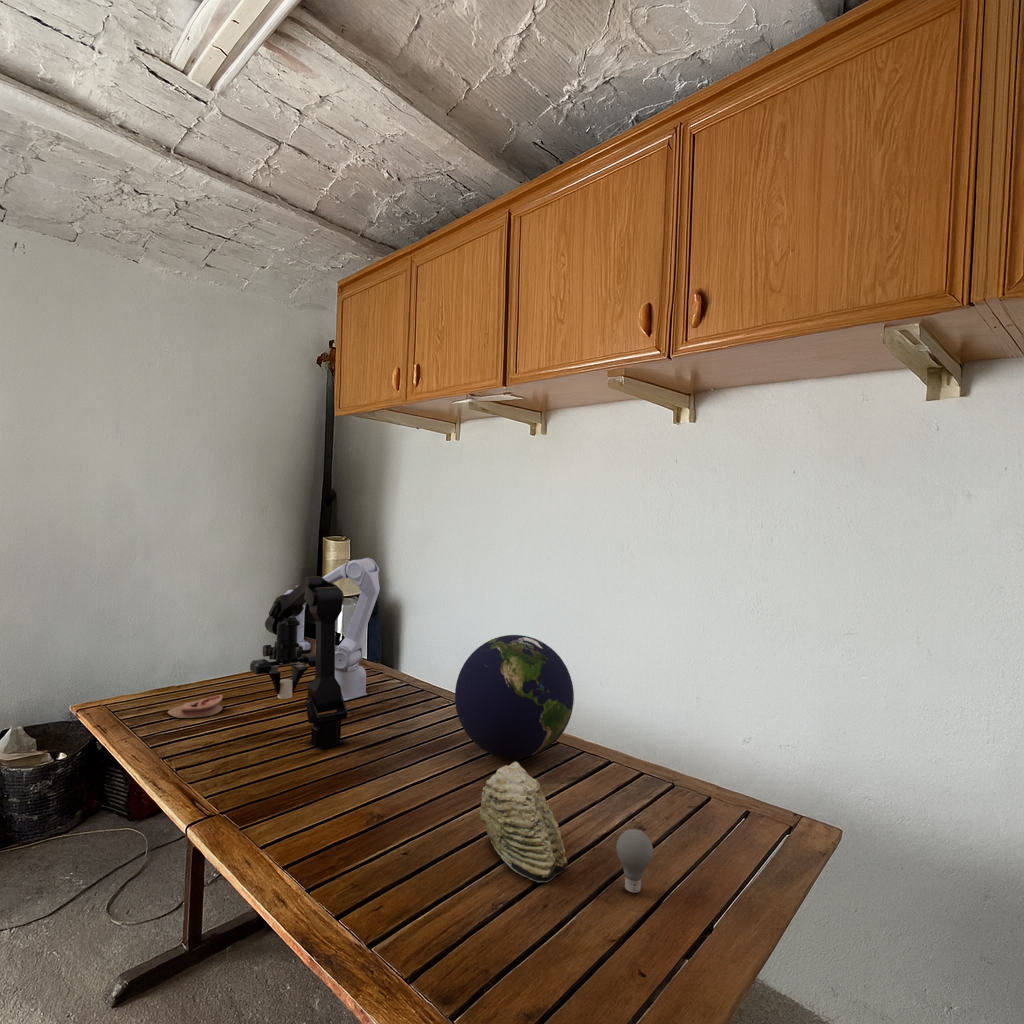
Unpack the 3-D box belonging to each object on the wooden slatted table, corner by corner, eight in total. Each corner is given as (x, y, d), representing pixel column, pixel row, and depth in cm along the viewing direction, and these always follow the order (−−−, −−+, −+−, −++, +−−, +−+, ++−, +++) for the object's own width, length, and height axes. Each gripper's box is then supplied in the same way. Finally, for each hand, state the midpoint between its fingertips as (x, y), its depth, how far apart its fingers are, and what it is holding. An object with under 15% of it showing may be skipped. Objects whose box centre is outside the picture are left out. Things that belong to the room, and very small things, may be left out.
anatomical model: (160, 701, 176) (189, 689, 187) (159, 715, 176) (188, 703, 187) (202, 706, 173) (229, 694, 185) (201, 721, 173) (228, 708, 185)
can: (280, 694, 185) (281, 678, 185) (294, 695, 185) (294, 679, 185) (275, 698, 181) (275, 682, 181) (289, 699, 181) (289, 683, 181)
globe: (500, 724, 181) (504, 620, 180) (592, 752, 164) (597, 636, 163) (427, 755, 157) (432, 635, 156) (526, 792, 139) (533, 657, 139)
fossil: (501, 827, 124) (504, 751, 124) (575, 868, 111) (578, 784, 111) (467, 843, 118) (470, 763, 118) (541, 889, 105) (545, 799, 105)
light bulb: (610, 879, 108) (613, 822, 108) (644, 879, 109) (647, 822, 109) (619, 902, 102) (622, 840, 102) (655, 901, 103) (658, 840, 103)
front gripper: (306, 630, 195) (304, 681, 196) (244, 637, 183) (242, 690, 183) (322, 637, 187) (320, 690, 187) (258, 645, 175) (256, 701, 175)
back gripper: (271, 624, 206) (269, 666, 206) (296, 631, 197) (295, 675, 197) (290, 621, 211) (288, 662, 212) (316, 628, 202) (314, 670, 203)
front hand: (285, 692), depth 183 cm, fingers closed on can, 4 cm apart
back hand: (293, 668), depth 205 cm, fingers open, 7 cm apart
